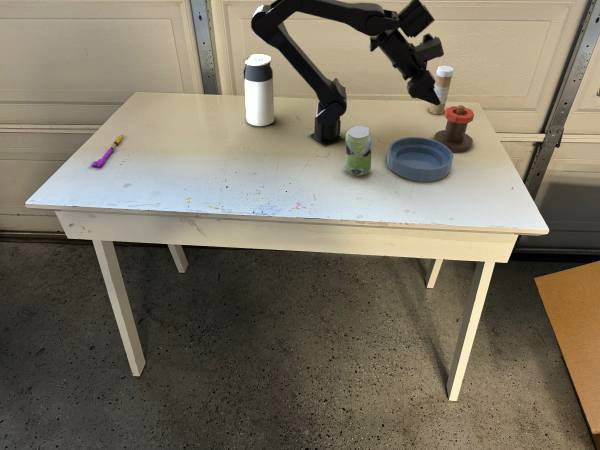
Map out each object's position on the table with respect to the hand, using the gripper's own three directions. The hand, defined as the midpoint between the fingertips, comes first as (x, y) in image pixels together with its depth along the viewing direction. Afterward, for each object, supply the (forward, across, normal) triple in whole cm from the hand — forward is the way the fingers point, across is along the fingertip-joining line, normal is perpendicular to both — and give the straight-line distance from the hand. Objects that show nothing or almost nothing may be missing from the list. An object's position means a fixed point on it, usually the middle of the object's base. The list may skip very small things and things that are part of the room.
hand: (436, 96), depth 113 cm
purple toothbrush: (-50, -12, +69) cm, 86 cm away
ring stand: (+14, 0, +4) cm, 15 cm away
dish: (+6, -12, +12) cm, 18 cm away
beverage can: (-4, -17, +23) cm, 29 cm away
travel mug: (-24, +9, +42) cm, 49 cm away
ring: (+9, 0, -1) cm, 9 cm away
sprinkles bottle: (+14, +19, +5) cm, 24 cm away
